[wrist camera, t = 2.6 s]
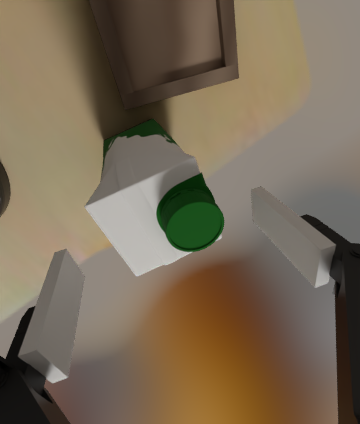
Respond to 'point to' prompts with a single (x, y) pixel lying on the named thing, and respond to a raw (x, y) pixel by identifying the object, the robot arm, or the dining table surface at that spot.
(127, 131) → the soya milk
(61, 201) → the dining table surface
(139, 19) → the walnut tray
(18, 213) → the dining table surface
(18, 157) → the dining table surface
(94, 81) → the dining table surface
